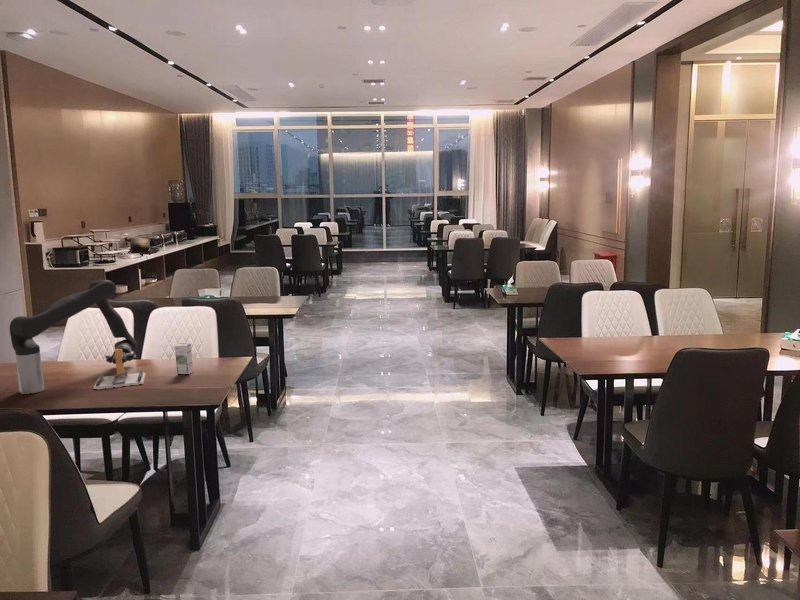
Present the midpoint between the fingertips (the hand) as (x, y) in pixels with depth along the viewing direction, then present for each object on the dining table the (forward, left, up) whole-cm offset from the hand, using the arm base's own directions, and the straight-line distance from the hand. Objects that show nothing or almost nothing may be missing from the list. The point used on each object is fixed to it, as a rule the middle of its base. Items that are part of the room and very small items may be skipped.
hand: (118, 361), depth 289 cm
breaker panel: (0, -1, -9) cm, 10 cm away
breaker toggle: (+1, +3, -7) cm, 8 cm away
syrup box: (+27, -9, -10) cm, 30 cm away
